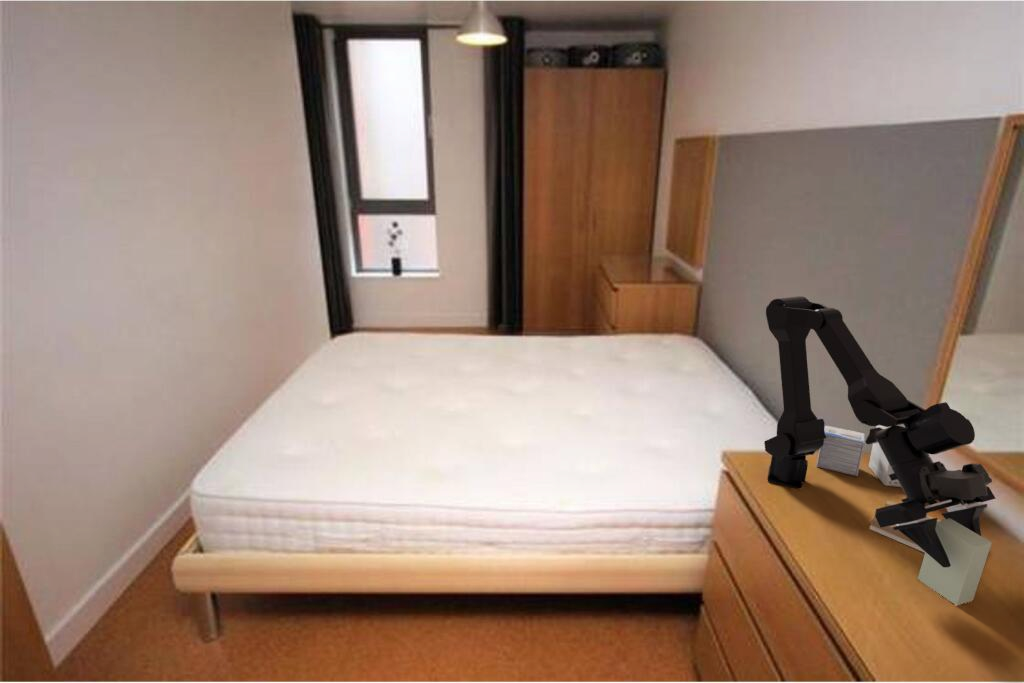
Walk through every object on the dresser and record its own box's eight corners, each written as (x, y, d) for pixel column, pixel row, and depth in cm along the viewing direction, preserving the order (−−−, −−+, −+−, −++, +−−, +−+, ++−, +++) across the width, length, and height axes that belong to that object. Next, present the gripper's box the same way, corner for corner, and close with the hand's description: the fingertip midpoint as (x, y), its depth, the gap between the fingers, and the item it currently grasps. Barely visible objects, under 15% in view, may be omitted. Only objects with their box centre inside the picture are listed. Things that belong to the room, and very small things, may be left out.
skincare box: (917, 489, 111) (935, 421, 106) (881, 486, 112) (898, 419, 107) (898, 467, 118) (914, 403, 113) (865, 465, 120) (879, 401, 115)
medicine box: (857, 467, 119) (865, 433, 116) (857, 477, 115) (865, 442, 112) (817, 458, 123) (824, 424, 120) (815, 467, 119) (822, 432, 116)
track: (869, 528, 99) (871, 520, 99) (887, 506, 105) (889, 499, 105) (964, 569, 89) (967, 561, 89) (978, 542, 95) (980, 534, 95)
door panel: (917, 579, 87) (933, 522, 84) (933, 574, 88) (949, 518, 85) (956, 606, 82) (975, 547, 78) (972, 601, 83) (992, 542, 79)
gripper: (909, 458, 79) (970, 571, 72) (998, 438, 84) (1062, 541, 77) (852, 476, 88) (901, 577, 82) (935, 457, 93) (987, 550, 87)
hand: (964, 561), depth 82 cm, fingers open, 7 cm apart
